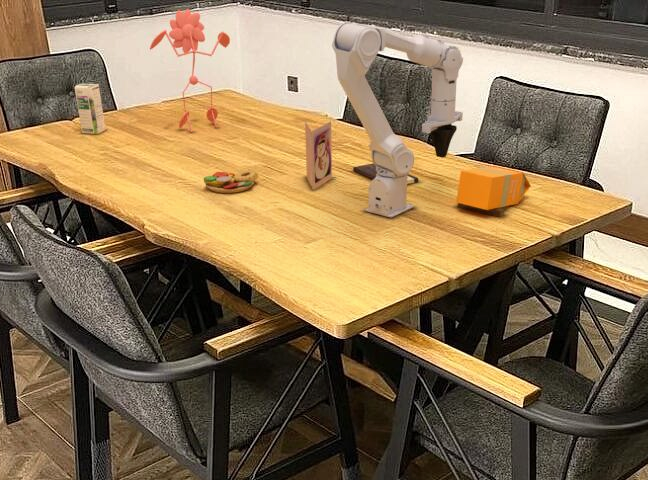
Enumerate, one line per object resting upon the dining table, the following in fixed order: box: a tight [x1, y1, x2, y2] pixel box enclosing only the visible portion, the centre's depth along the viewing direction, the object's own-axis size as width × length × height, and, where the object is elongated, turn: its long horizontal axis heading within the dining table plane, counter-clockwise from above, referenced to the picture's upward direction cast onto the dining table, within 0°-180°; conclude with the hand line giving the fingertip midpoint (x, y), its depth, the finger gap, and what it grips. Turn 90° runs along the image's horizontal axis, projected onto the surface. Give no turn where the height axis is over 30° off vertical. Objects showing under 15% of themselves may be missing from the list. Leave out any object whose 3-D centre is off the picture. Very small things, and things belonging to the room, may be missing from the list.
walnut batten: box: [457, 203, 506, 218], centre depth 202 cm, size 2×12×2 cm, turn 50°
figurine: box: [149, 8, 234, 133], centre depth 266 cm, size 15×26×35 cm, turn 125°
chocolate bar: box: [353, 162, 419, 185], centre depth 226 cm, size 9×1×18 cm
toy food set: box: [203, 169, 259, 194], centre depth 220 cm, size 13×13×3 cm
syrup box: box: [74, 83, 107, 135], centre depth 267 cm, size 6×6×14 cm
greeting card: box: [304, 120, 333, 191], centre depth 218 cm, size 11×7×15 cm, turn 155°
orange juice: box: [455, 165, 532, 210], centre depth 204 cm, size 8×9×20 cm
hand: (441, 156), depth 205 cm, fingers closed
